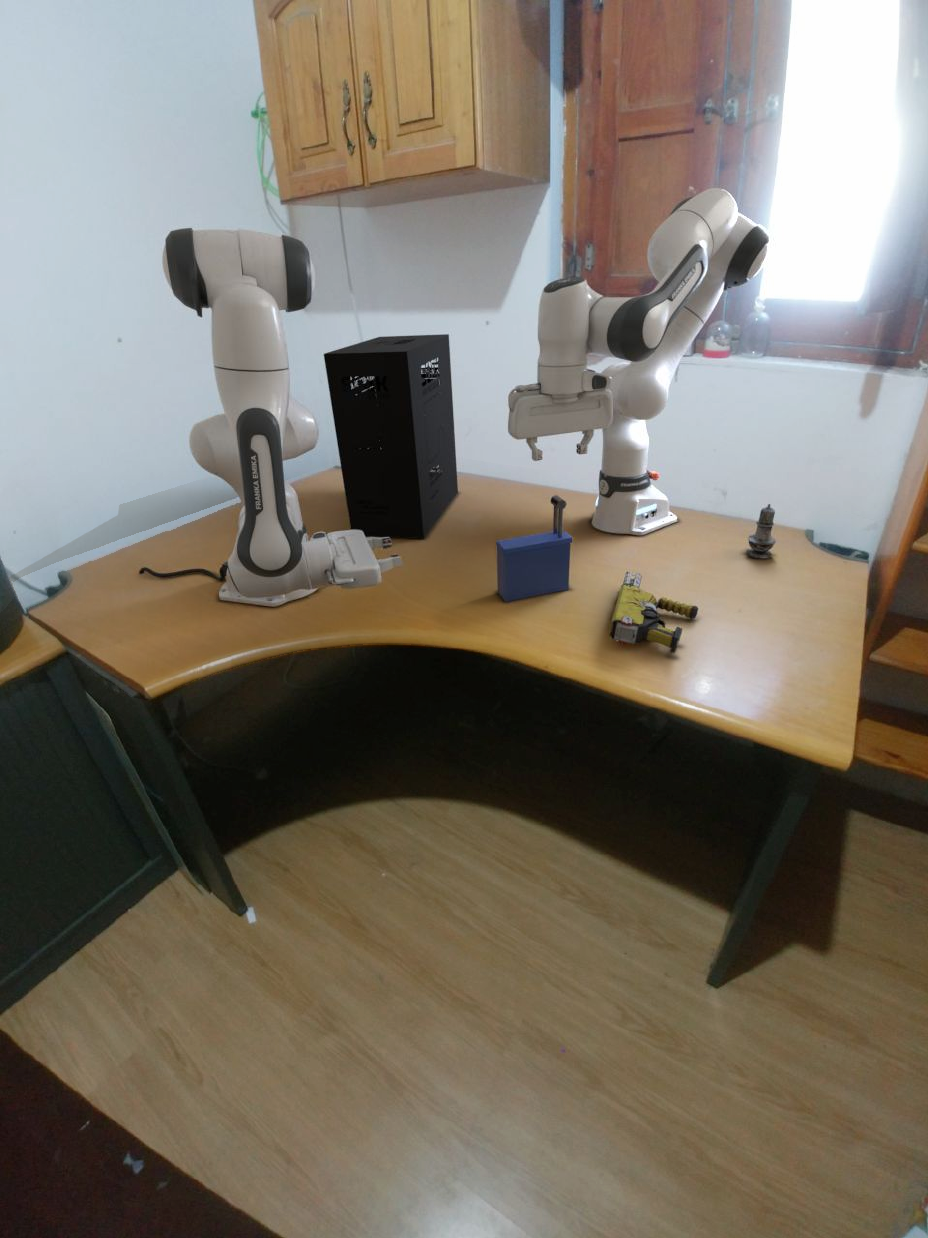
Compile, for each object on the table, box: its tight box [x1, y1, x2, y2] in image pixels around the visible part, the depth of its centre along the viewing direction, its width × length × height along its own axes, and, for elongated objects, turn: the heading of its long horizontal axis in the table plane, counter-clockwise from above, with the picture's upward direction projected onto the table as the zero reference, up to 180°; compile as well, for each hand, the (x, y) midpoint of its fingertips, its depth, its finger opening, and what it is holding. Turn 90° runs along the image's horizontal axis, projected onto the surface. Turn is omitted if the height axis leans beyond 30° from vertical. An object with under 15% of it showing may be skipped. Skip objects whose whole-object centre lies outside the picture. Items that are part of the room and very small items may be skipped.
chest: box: [496, 543, 571, 603], centre depth 126 cm, size 14×5×11 cm, turn 108°
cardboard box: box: [323, 333, 459, 540], centre depth 164 cm, size 38×20×45 cm, turn 167°
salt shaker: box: [746, 503, 777, 559], centre depth 136 cm, size 6×6×12 cm
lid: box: [495, 495, 574, 555], centre depth 122 cm, size 15×5×9 cm, turn 107°
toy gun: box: [608, 570, 699, 654], centre depth 115 cm, size 5×24×15 cm
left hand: (395, 550), depth 115 cm, fingers open, 8 cm apart
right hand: (559, 456), depth 116 cm, fingers open, 8 cm apart
